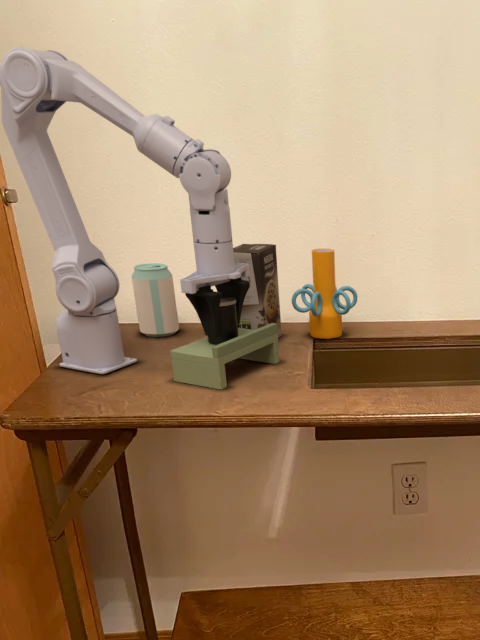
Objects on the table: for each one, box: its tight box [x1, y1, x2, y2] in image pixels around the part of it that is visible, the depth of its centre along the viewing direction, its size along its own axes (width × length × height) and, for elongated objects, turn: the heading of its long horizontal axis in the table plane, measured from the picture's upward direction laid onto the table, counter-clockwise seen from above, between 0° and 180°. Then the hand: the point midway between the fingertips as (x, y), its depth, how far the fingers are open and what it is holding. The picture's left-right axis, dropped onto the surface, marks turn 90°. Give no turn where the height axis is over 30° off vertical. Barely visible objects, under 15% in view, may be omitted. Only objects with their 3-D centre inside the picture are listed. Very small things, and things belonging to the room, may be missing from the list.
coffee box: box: [233, 243, 283, 339], centre depth 140 cm, size 9×6×16 cm
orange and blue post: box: [291, 248, 358, 340], centre depth 144 cm, size 12×10×15 cm
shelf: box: [169, 323, 281, 390], centre depth 127 cm, size 9×16×6 cm, turn 155°
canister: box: [207, 296, 239, 345], centre depth 124 cm, size 5×5×6 cm
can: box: [131, 262, 180, 338], centre depth 145 cm, size 7×7×12 cm
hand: (222, 331), depth 125 cm, fingers closed on canister, 5 cm apart
